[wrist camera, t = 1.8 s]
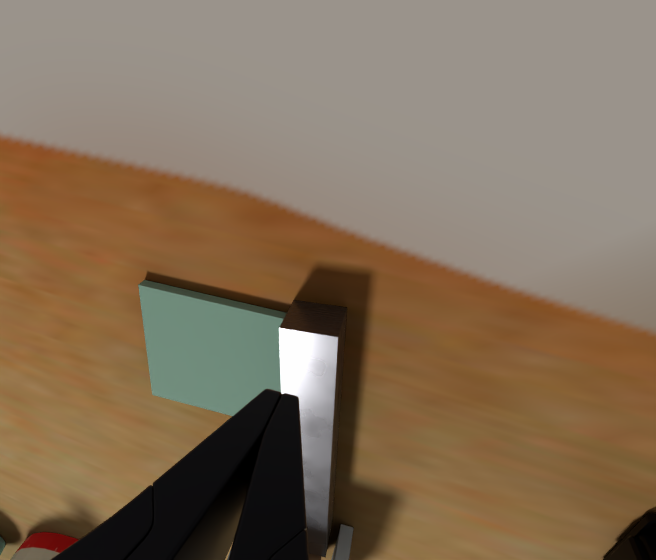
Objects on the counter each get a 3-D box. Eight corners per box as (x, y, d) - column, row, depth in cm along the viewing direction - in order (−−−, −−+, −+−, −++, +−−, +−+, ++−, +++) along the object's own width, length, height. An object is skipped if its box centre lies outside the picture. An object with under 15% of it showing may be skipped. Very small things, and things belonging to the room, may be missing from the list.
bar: (348, 304, 23) (338, 337, 20) (333, 517, 33) (325, 557, 30) (295, 296, 23) (278, 327, 20) (297, 509, 33) (286, 547, 31)
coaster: (291, 314, 23) (288, 320, 23) (280, 420, 28) (277, 427, 27) (144, 279, 24) (138, 285, 24) (157, 388, 29) (152, 394, 28)
